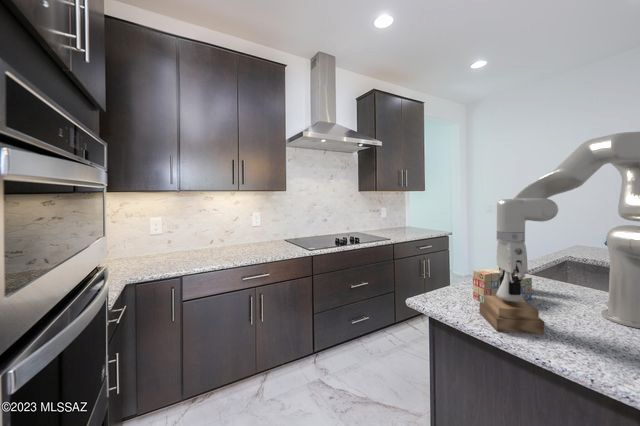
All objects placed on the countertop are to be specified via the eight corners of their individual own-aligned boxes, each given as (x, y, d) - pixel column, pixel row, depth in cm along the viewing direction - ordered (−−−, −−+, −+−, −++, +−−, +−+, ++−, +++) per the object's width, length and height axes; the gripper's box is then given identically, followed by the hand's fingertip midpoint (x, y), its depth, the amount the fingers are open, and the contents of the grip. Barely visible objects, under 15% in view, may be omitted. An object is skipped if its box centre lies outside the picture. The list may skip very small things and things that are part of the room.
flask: (529, 302, 82) (529, 271, 82) (506, 302, 82) (506, 271, 82) (512, 293, 90) (513, 265, 89) (491, 294, 90) (491, 265, 89)
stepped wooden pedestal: (519, 315, 92) (520, 295, 91) (544, 334, 79) (544, 311, 78) (479, 313, 94) (479, 294, 94) (496, 331, 81) (496, 309, 81)
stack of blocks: (518, 294, 111) (518, 266, 110) (532, 300, 105) (532, 270, 104) (472, 298, 108) (472, 269, 107) (484, 304, 102) (484, 273, 101)
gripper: (540, 241, 76) (539, 302, 77) (509, 233, 93) (508, 283, 93) (511, 241, 77) (510, 300, 78) (486, 233, 94) (486, 282, 95)
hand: (509, 290), depth 86 cm, fingers closed on flask, 4 cm apart
